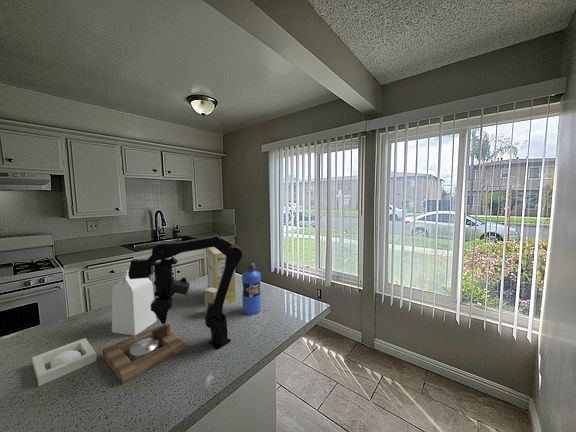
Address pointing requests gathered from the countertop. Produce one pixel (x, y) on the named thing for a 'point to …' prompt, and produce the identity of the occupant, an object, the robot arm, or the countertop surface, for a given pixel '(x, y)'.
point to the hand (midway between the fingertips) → (165, 317)
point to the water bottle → (251, 290)
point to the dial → (149, 342)
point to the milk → (132, 305)
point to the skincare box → (209, 296)
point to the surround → (133, 369)
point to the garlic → (64, 357)
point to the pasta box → (219, 273)
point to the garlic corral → (65, 368)
